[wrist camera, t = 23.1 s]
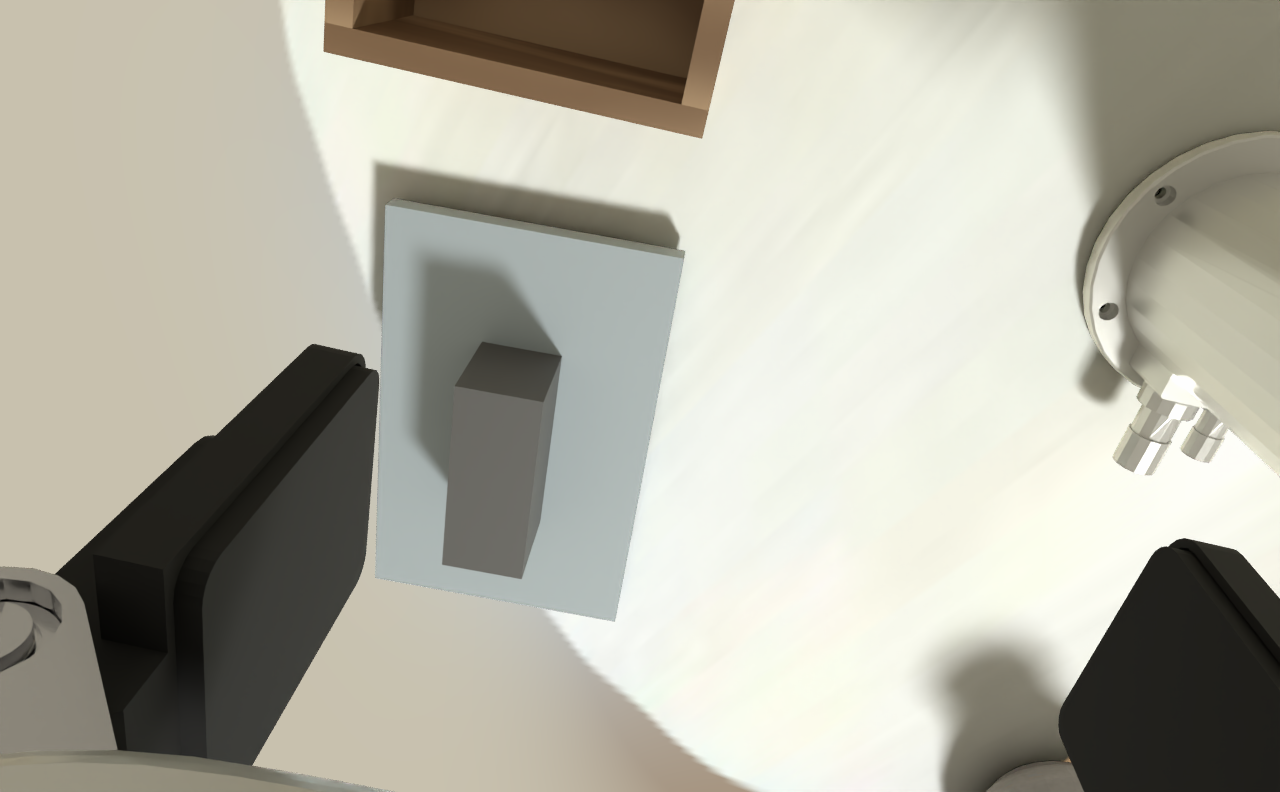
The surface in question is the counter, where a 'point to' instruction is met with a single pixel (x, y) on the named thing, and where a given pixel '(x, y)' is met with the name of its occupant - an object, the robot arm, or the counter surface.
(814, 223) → the counter surface
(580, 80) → the chest
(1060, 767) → the coffee pot
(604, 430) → the lid
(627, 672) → the counter surface
